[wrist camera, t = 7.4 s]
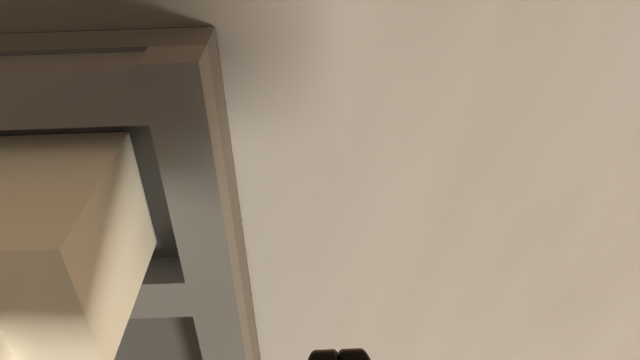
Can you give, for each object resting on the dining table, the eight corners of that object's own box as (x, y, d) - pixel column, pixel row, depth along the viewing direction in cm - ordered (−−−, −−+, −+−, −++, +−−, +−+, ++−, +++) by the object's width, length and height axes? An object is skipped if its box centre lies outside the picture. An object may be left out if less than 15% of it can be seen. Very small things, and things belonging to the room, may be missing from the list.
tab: (156, 242, 14) (98, 403, 10) (0, 247, 14) (-120, 410, 10) (129, 132, 12) (43, 275, 8) (-51, 137, 12) (-221, 284, 8)
